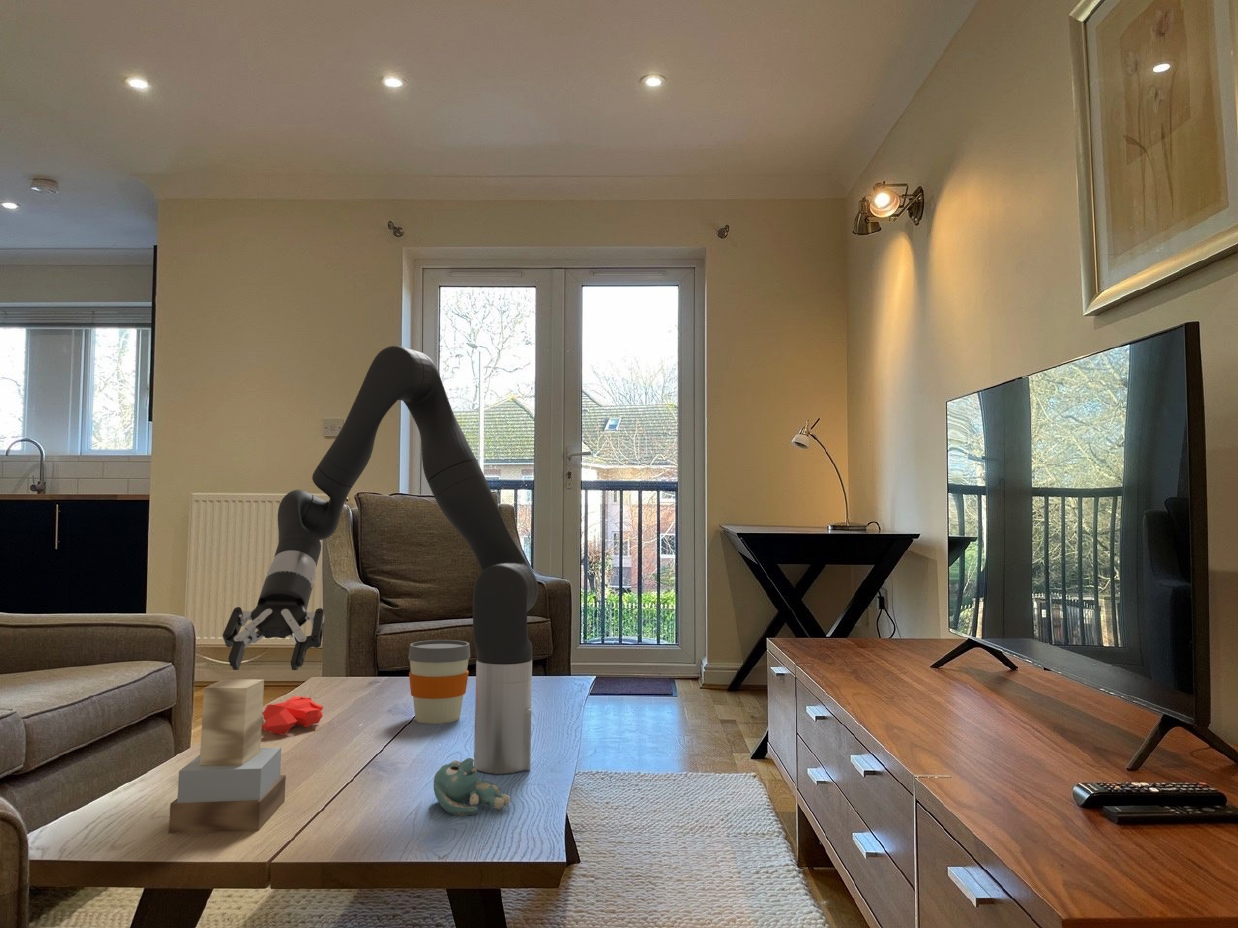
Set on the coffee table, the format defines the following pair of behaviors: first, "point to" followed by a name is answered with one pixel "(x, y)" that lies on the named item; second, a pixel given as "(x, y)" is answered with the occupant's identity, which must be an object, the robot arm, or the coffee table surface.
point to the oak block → (231, 721)
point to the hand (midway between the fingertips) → (264, 667)
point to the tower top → (229, 779)
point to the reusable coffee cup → (438, 679)
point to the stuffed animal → (465, 789)
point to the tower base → (227, 813)
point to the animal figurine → (291, 714)
